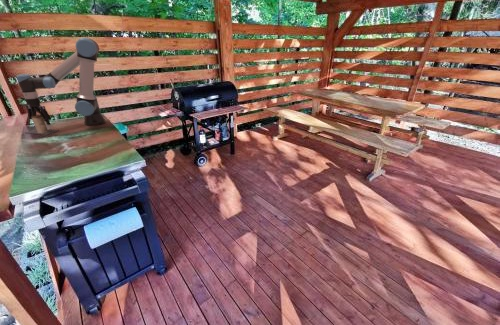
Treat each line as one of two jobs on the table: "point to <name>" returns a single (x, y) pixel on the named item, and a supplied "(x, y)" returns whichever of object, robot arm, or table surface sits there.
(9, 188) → the table surface
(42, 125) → the slab
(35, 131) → the mat
